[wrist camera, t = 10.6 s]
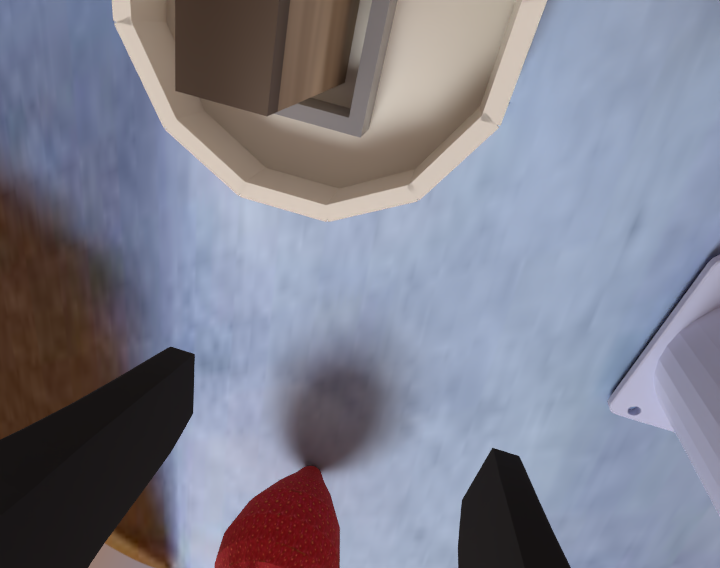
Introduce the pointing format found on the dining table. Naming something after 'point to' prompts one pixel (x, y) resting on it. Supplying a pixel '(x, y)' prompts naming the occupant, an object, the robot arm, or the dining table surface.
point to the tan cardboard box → (262, 50)
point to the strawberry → (285, 527)
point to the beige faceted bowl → (352, 105)
